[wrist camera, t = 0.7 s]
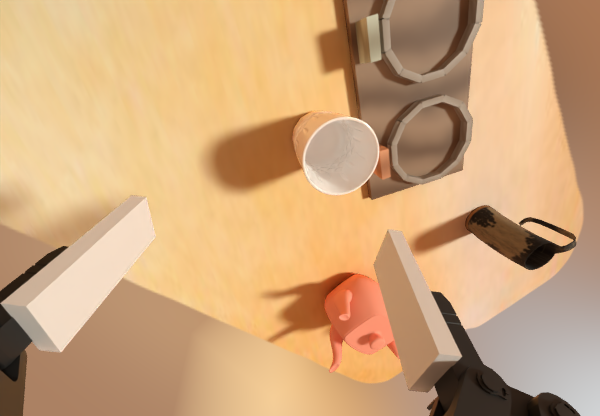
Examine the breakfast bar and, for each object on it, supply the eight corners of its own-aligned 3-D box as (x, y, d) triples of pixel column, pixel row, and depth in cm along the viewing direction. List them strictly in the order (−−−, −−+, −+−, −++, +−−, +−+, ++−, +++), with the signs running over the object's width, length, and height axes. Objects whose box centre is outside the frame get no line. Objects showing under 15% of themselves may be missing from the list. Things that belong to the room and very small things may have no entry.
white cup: (278, 153, 33) (289, 181, 25) (302, 94, 30) (324, 102, 22) (329, 173, 36) (355, 204, 27) (355, 120, 33) (394, 136, 24)
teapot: (379, 312, 54) (408, 364, 44) (315, 321, 51) (330, 378, 41) (394, 259, 47) (432, 307, 37) (320, 266, 44) (340, 319, 35)
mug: (469, 237, 48) (531, 282, 37) (460, 218, 45) (524, 262, 35) (507, 211, 46) (582, 251, 36) (500, 191, 44) (579, 228, 33)
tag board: (339, -27, 26) (354, -43, 22) (474, -66, 26) (508, -87, 23) (369, 197, 39) (381, 208, 36) (457, 168, 40) (478, 176, 36)
